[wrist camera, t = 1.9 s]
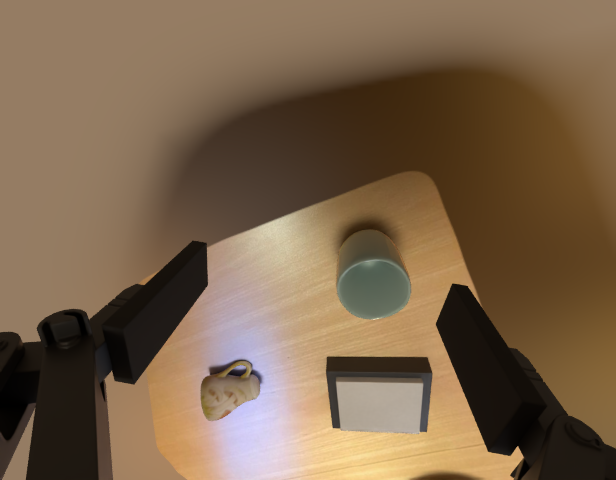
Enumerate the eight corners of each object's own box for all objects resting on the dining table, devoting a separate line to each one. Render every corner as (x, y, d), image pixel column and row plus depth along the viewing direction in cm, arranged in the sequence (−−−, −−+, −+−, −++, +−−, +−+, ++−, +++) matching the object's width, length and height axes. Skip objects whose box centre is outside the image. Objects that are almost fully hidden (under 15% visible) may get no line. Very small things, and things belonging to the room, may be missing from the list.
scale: (427, 357, 47) (434, 378, 43) (422, 415, 52) (428, 438, 49) (327, 356, 49) (325, 377, 45) (333, 412, 55) (332, 434, 51)
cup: (329, 233, 39) (324, 272, 30) (385, 212, 37) (399, 247, 28) (349, 279, 42) (351, 327, 33) (403, 262, 40) (421, 309, 31)
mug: (272, 388, 54) (236, 443, 48) (234, 365, 59) (196, 413, 53) (261, 368, 49) (220, 426, 43) (221, 345, 54) (179, 395, 48)
